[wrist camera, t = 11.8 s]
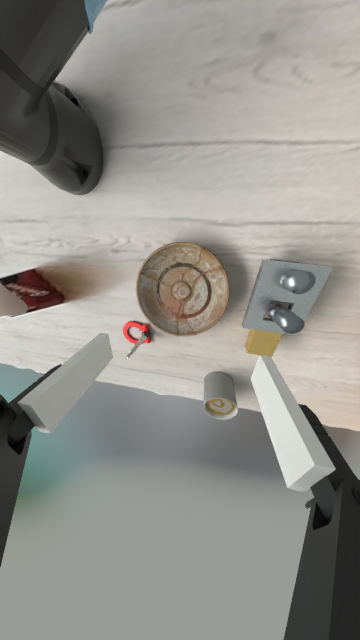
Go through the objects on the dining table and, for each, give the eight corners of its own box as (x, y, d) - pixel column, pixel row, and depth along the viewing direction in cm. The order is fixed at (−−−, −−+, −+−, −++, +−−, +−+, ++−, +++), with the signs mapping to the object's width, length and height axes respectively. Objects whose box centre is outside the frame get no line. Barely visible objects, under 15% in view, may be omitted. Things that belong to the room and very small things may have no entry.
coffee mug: (206, 369, 51) (205, 394, 42) (235, 374, 49) (241, 401, 40) (201, 394, 56) (200, 422, 48) (227, 399, 55) (231, 428, 46)
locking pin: (262, 295, 37) (287, 315, 25) (276, 296, 36) (308, 318, 25) (257, 307, 38) (279, 332, 27) (271, 309, 38) (299, 335, 26)
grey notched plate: (255, 258, 34) (272, 261, 25) (311, 263, 32) (350, 269, 23) (231, 337, 43) (237, 359, 35) (273, 344, 42) (291, 369, 33)
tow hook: (128, 341, 52) (152, 343, 50) (103, 367, 40) (133, 370, 38) (122, 320, 48) (147, 320, 46) (93, 342, 37) (125, 344, 35)
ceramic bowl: (245, 296, 38) (250, 302, 33) (179, 340, 47) (176, 350, 43) (188, 218, 33) (185, 214, 28) (126, 285, 42) (117, 290, 38)
